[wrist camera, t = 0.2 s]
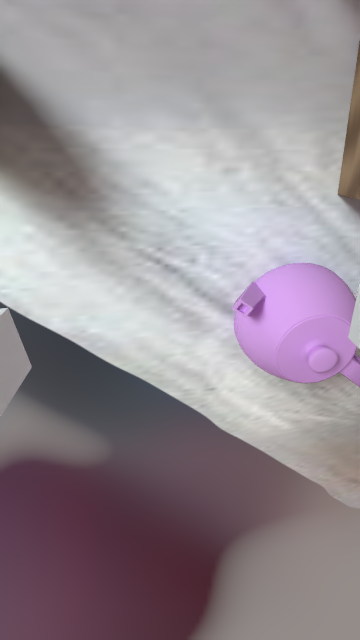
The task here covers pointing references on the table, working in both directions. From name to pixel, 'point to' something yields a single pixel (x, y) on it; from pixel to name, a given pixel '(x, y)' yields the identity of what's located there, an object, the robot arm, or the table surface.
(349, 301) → the teapot
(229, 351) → the table surface
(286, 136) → the table surface
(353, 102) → the walnut block
